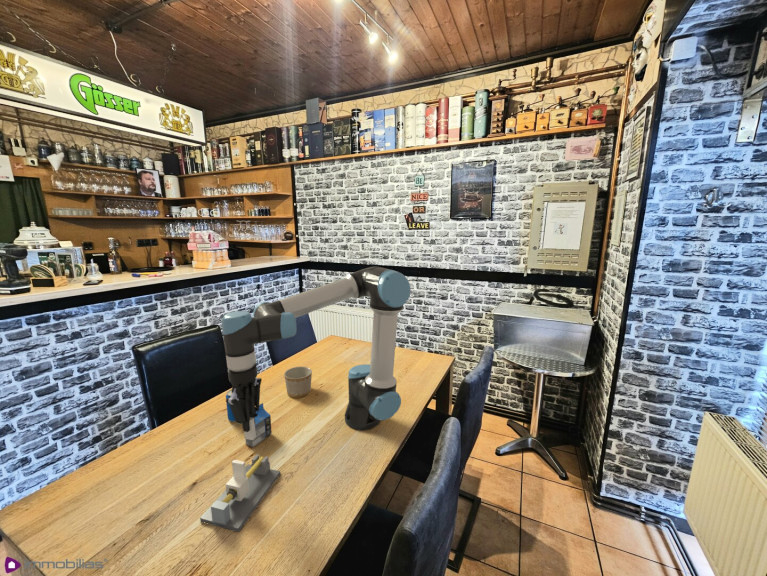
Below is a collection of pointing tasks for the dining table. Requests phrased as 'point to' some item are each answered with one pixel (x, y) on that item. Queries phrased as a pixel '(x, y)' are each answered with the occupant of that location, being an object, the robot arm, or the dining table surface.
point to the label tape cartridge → (261, 426)
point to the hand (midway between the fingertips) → (250, 437)
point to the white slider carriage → (238, 480)
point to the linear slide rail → (238, 512)
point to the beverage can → (229, 412)
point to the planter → (298, 381)
